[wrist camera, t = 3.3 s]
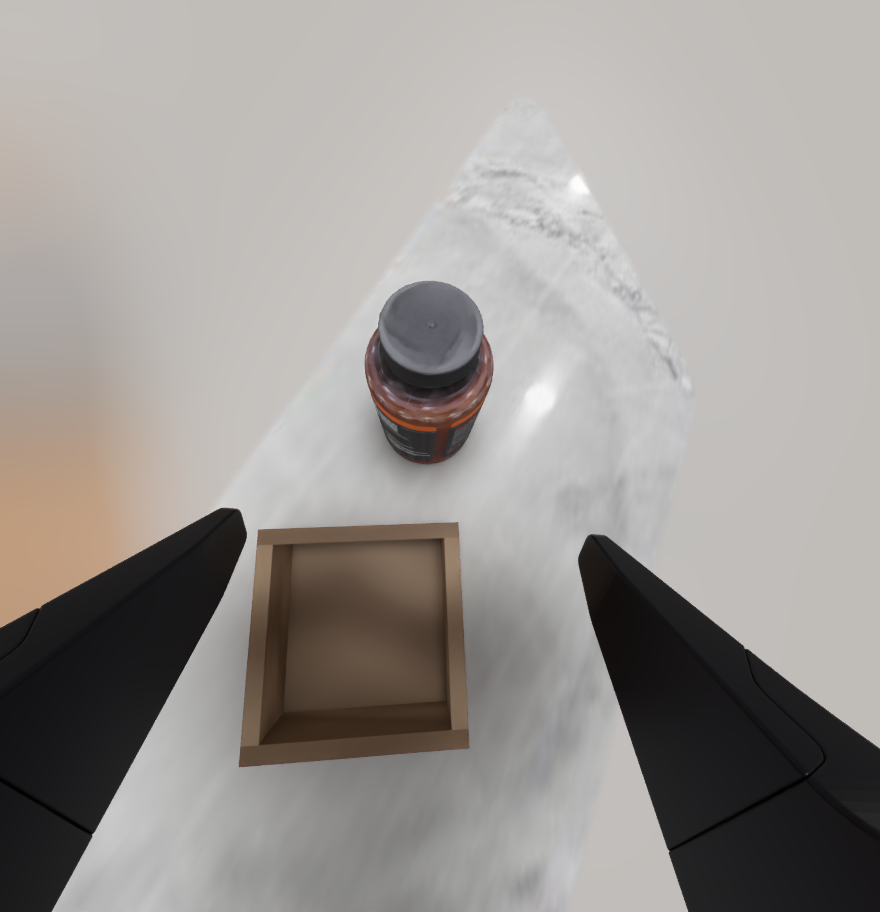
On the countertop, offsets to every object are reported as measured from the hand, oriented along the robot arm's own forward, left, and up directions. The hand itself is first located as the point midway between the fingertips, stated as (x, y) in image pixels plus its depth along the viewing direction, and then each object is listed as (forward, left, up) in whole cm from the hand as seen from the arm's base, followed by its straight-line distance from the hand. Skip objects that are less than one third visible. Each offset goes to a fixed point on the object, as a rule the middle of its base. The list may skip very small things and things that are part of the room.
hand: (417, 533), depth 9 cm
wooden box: (0, +6, -13) cm, 14 cm away
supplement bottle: (+4, -6, -13) cm, 15 cm away
